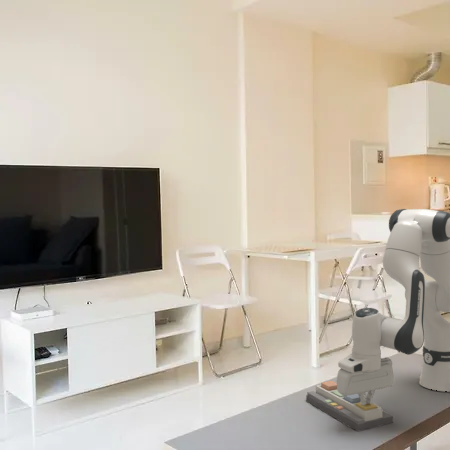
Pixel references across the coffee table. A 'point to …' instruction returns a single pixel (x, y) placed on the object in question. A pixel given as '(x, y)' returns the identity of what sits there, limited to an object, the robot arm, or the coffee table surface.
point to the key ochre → (366, 406)
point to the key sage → (337, 394)
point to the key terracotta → (329, 385)
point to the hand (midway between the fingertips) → (366, 404)
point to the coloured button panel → (347, 410)
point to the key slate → (352, 398)
